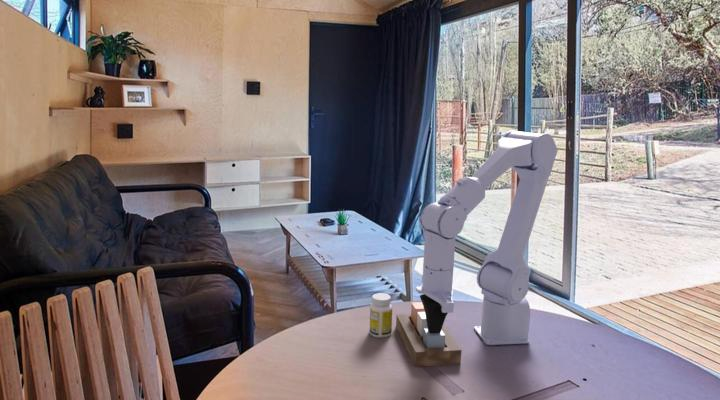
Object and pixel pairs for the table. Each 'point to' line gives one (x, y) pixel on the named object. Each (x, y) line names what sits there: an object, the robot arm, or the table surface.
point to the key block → (418, 350)
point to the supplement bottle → (381, 315)
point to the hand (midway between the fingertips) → (434, 332)
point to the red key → (416, 310)
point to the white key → (421, 322)
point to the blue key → (433, 339)
